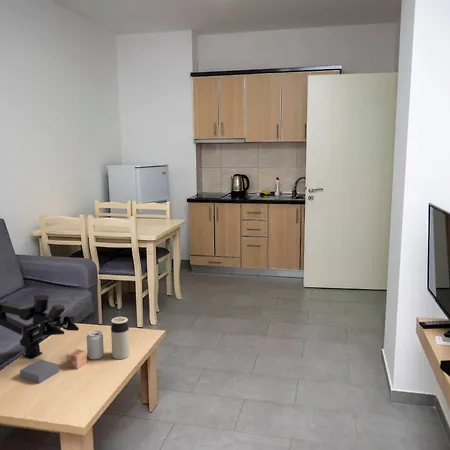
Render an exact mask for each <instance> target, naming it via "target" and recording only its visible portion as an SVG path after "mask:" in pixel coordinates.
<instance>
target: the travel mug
mask: <svg viewBox="0 0 450 450" xmlns="http://www.w3.org/2000/svg"><path fill="white" fill-rule="evenodd" d="M110 321H111V326H110V331H111V333H110V335H111V356H112V358H113V359H115V360H116V359H117V360H123V359H126V358H129V356H130V334H129V332H130V331H129V330H130V329H129V328H130V327H129V326H130V325H129V324H128V318H127V317H124V316H116V317H114V318H112V319H111V320H110Z"/></svg>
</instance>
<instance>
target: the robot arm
mask: <svg viewBox="0 0 450 450" xmlns="http://www.w3.org/2000/svg"><path fill="white" fill-rule="evenodd" d="M33 299H34V300H33V304H27V305H21V304H15V303H12V302H11V303H10V302H8V301H1V302H0V326H2V327H4V328H6V329H8V330H10V331H11V332H14V333H16V334H18V335H20V337H21V338H20V340H19V344H20V346H23V347H24V353H23V354H22V355H21V357H22V358H23V357H24V358H27V359H29V360H30V359H31V360H33V359H35V358H36V357H38V356H40V355H43V351H41V349H40V342H41V341H42V340H43V338H44V337H45V336H57V335H59V336H60V335H65V331H64V330H66V331H71V332H72V331H75V332H76V331H77V332H78V331H79V329H80V328H79V327H78V325H77V324H76V323H75V322H74V320H75V316H74V315H71V314H70V315H66V316H64V317H63V320H62V321H61V319H62V316H61V315H62V313H64V311H65V309H66V307H65V306H64V305H62V304H55V305H52V307H50V310H49V302H50V301H49V299H50V296H49V295H47V294H45V295H44V294H36V295H33ZM48 310H49V312H48V313H47V312H46V311H48ZM7 314H10V315H13V316H18V318H19V319H21V320H22V321H30V320H31V319H32V323H30V324H26V323H22V322H21V321H18V320H16V319H14V318H12V317H9V316H8V315H7ZM61 328H62V329H63V330H62V329H61Z"/></svg>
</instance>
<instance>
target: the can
mask: <svg viewBox="0 0 450 450" xmlns="http://www.w3.org/2000/svg"><path fill="white" fill-rule="evenodd" d="M104 346H105V345H104V335H103V332H102V331H101V330H91V331H89V332H88V333H87V335H86V353H87V358H89V360H100V359H102V357H104V355H105V350H104Z"/></svg>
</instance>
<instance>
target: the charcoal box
mask: <svg viewBox="0 0 450 450" xmlns="http://www.w3.org/2000/svg"><path fill="white" fill-rule="evenodd" d="M59 365H60V364H59V363H55V362H51V361H48V360H45V359H42V358H41V359H38V360H36V361H35V362H31V364H29V365H27V366H24V367H22V368H21V369H19V373H20V377H19V378H21V379H23V380H26V381H30V382H33V383H36V384H41V383H43V382H45V381H46V380H48V379H49V378H51V377H53V376H55V375H56V374H59V373H60V366H59Z"/></svg>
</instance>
